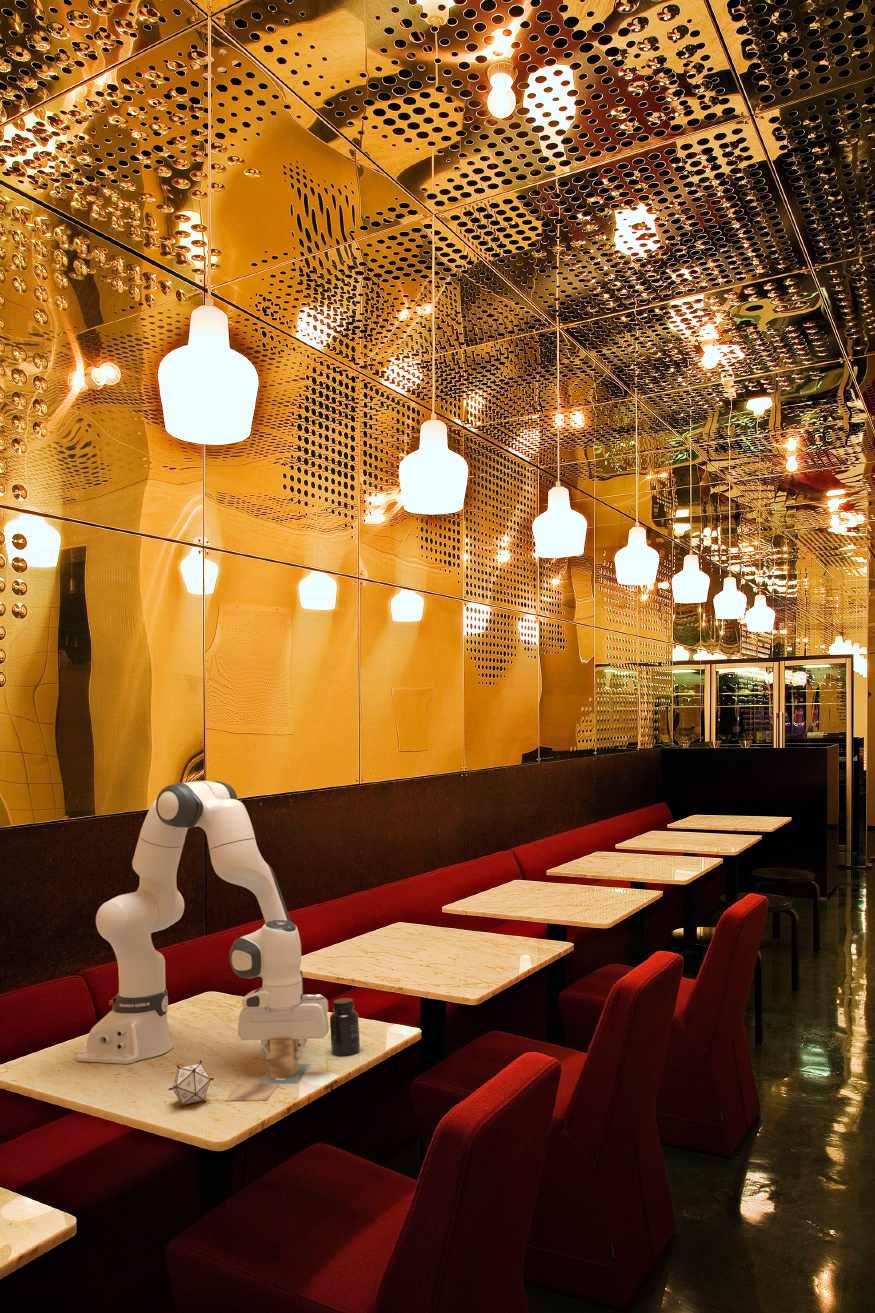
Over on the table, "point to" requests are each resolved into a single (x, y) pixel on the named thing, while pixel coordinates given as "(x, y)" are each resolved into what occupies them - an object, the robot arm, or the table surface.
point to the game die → (191, 1084)
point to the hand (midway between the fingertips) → (284, 1059)
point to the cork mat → (251, 1092)
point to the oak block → (283, 1058)
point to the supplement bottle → (344, 1028)
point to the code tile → (295, 1079)
